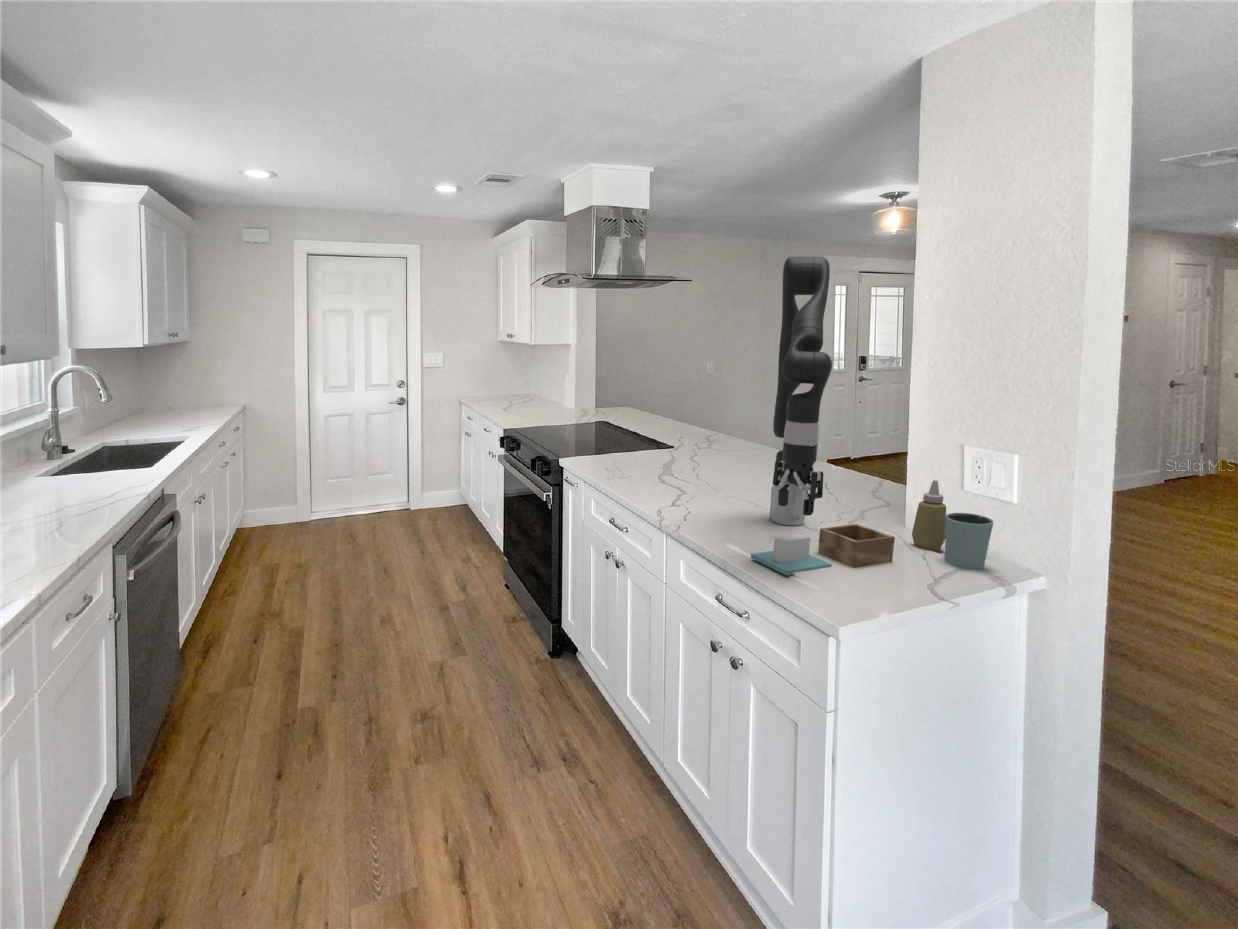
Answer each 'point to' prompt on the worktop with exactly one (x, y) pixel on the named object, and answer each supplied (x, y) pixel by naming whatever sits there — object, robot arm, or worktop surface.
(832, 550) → the walnut box
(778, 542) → the lid
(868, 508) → the worktop surface
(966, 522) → the grey-blue cup
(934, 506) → the squeeze bottle
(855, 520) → the worktop surface
